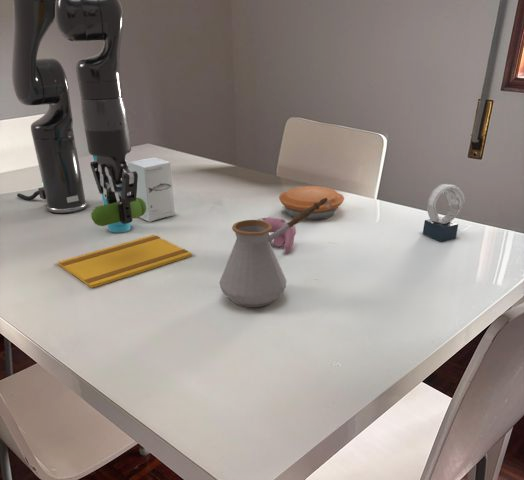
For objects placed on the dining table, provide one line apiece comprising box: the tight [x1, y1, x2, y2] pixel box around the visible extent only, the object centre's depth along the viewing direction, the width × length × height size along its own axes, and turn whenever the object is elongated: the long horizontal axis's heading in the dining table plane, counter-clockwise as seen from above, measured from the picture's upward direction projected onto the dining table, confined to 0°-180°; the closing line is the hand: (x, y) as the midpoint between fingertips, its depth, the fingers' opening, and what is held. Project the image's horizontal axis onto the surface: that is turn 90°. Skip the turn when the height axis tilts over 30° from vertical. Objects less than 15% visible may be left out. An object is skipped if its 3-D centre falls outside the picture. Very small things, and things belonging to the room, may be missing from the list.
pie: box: [278, 185, 345, 221], centre depth 135 cm, size 15×16×5 cm
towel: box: [57, 234, 193, 289], centre depth 112 cm, size 14×22×1 cm, turn 131°
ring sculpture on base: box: [422, 183, 466, 243], centre depth 119 cm, size 6×8×11 cm
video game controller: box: [256, 216, 297, 254], centre depth 116 cm, size 10×5×7 cm, turn 71°
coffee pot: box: [219, 198, 332, 308], centre depth 96 cm, size 21×12×15 cm, turn 121°
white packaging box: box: [127, 156, 176, 223], centre depth 132 cm, size 7×7×13 cm
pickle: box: [90, 198, 147, 227], centre depth 107 cm, size 4×11×4 cm, turn 131°
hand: (120, 219), depth 108 cm, fingers closed on pickle, 3 cm apart
